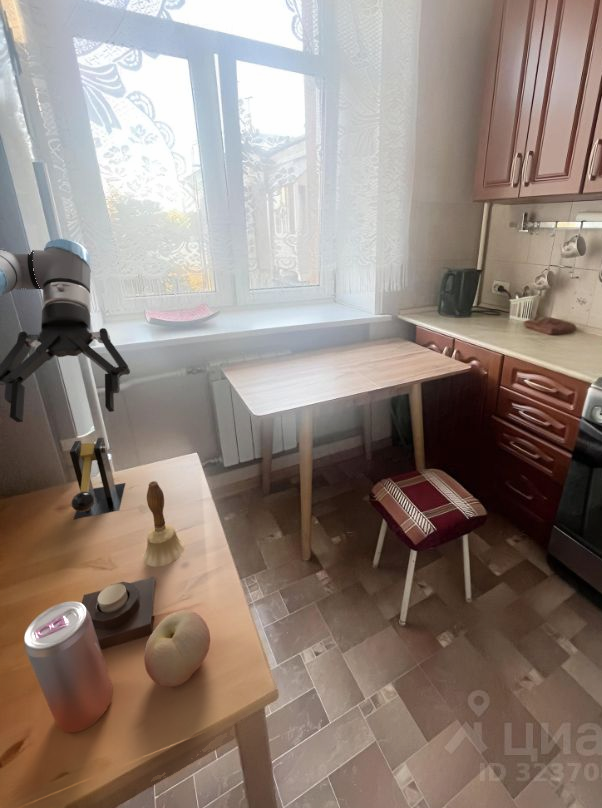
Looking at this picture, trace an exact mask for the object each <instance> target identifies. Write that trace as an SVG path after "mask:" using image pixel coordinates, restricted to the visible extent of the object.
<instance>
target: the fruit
mask: <svg viewBox="0 0 602 808" xmlns="http://www.w3.org/2000/svg"><path fill="white" fill-rule="evenodd" d="M210 644H211V633H210V630H209V627H208V624H207V622H206V621H205V619H203V617H202V616H201V615H200V614H198V613H197V612H195V611H193V610H185V609H182V610H178V611H173V612H172V613H170V614H168V615H167V616H166V617H164V618H163V619H162V620H161V621H160V622H159V623H158V625H157V626H155V629H153V633H152V634H151V635H149V638H148V639H147V641H146V645H145V648H144V655H143V661H144V667H145V671H146V672H147V675H148V677H149V678H150V679H151V680H152V681H153V682H154V683H156V684H157V685H159V686H162V687H170V688H172V687H178V686H180V685H183V684H184V683H186V682H187V681H188V680H189V679H190V678H191V676H192V675H194V673H195V672H196V671H197V670H198V668H199V667H201V665H202V664H203V662H204V660H205V659H206V657H207V655H208V653H209V650H210Z"/></svg>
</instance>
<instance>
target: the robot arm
mask: <svg viewBox="0 0 602 808" xmlns="http://www.w3.org/2000/svg"><path fill="white" fill-rule="evenodd" d="M31 250H32V252H31V254H30V255H29V254H16V253H15V254H14V253H10V252H7V251H3V250H0V297H2V296H3V295H5V294H8V293H9V292H12V291H14V289H16V290H35V289H42V290H41V291H42V304H41V305H42V309H41V324H40V328H41V329H40V332H39V333H38V334H28V333H27V332H26V331H20V332H19V333H18V335H17V340H16V343H15V344H14V346H12V348H11V350H10V351H9V352H8V353H7V355H6V356H5V357H4V359H3V360H2V361H1V363H0V386H4V385H5V387H4V400H5V401H6V402H7V403H8V404H10V408H9V409H10V410H9V418H10V419H12V420H13V421H14V422H16V423H23V422H24V408H25V407H24V406H25V392H26V391H25V389H26V387H25V385H23V383H24V382H25V381H26V380H27V379H28V378H29V377H30V376H32V375H33V374H34V373H35V372H36V371H37V370H38V369H39V368H40V367H42V366H43V365H44V364H45V363H46V362H48V361H50V360H52V359H53V358H54V357H58V358H63V357H68V356H69V357H78V355H81V354H83V355H84V356H85V357H86V358H88V359H90V360H91V361H92V362H93V363H94V364H96V365H97V366H98V367H99V368H101V369H102V370H103V371H104V372H106V373H104V403H105V404H104V406H105V408H106V409H107V411H108V412H109V413H112V412H115V399H114V394H119V393H120V390H121V385H120V384H121V383H120V382H121V381H120V378H121V377H122V376H125V375H127V376H128V375H130V374H131V369H130V368H129V365H128V364H127V362H126V361H125V360H124V358H123V356H122V355H121V354H120V352H119V351H118V350H117V349H116V347H115V346H114V344H113V342H112V341H111V336H110V334H109V332H108V330H107V329H106V328H105V327H102V328H100V329H99V331H92V332H91V273H92V269H91V263H90V253H89V252H88V250H87V249H86V248H85V247H84V246H83V245H81V244H80V243H79V242H77V241H74V240H73V239H72V240H71V239H68V238H56V239H53V240H49V241H47V242H46V244H45V246H44V247H43V250H41V249H31ZM33 252H34V253H33ZM32 260H33V261H32ZM33 268H34V271H33ZM34 274H35V275H34ZM35 278H36V279H35ZM36 281H37V282H36ZM37 283H38V284H37ZM38 285H39V286H38ZM39 287H40V288H39ZM21 288H22V289H21ZM23 288H24V289H23ZM25 288H26V289H25ZM94 340H96V341H97V342H98V343H99V344H102V345H103V346H104V347H105V349H106V351H107V352H108V353H109V355H110V356H111V358H112V359H113V361H114V362H115V363H116V365H117V367H116V366H114V365H113V364H112V363H110V362H109V361H108V360H106V358H104V357H103V355H100V353H98V352H97V351H95V350H94V349H93V347H91V346H90V344H92V342H93V341H94ZM37 343H40V344H38V346H37V347H36V348H35V351H33V352H32V354H30V355H29V356H28V354H29V353H30V351H31V350H32V348H34V347H35V345H36V344H37ZM27 356H28V357H27ZM25 358H26V359H25Z"/></svg>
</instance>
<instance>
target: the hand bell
mask: <svg viewBox="0 0 602 808" xmlns="http://www.w3.org/2000/svg"><path fill="white" fill-rule="evenodd" d="M147 487H148V488H147V492H146V503H147V506H148V509H149V510H150V512H151V513H152V516H153V526H154V528H152V529H151V530H150V531H149V532H148V533H147V536H146V537H147V538H146V539H147V542H146V549H145V550H144V552H143V554H142V561H143V563H145V564H146V565H147V566H149V567H162V566H166V565H169V564H171V563H172V562H174V561H176V560H177V559H178V558H179V557H180V556H181V555H182V554H183V552H184V551H185V542H184V540H182V539H181V538H179V537H178V534H177V532H176V529H175V527H174V526H172V525H170V524H166V521H165V516H164V508H165V496H164V491H163V490H162V488H161V487H160V485H159V483H158V481H156V480H152V481H150V482H149V483H148V486H147Z"/></svg>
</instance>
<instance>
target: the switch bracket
mask: <svg viewBox="0 0 602 808" xmlns="http://www.w3.org/2000/svg"><path fill="white" fill-rule="evenodd" d="M82 444H83V443H82V440H76V441H74V442H73V444H72V446H71V448H70V451H69V455H70V459H71V462H72V466H73V470H74V473H75V478H76V480H77V481H76V482H77V484H78V488H79V491H81V482H82V474H83V466H84V462H83V460H82V458H81V456H80V453H81V445H82ZM107 447H108V446H106V443H105V438H104V437H97V439H96V442H95V447H94V452H95V456H96V460H95V461H96V464H97V468H98V471H99V477H100V480H101V483H102V486H100V487H95V488H94V485H93V483H92V478H91V477H90V485H89V492H90V493H92V494H93V495H94V497H95V504H94V505H93V507H92V508H91V509H89V510H87V511H84V512H79V511H76V510H75V514H74V516H73V520H78V519H84V518H88V517H94V516H99V515H104V514H109V513H113V512H119V511H120V509H121V505H122V501H123V496H124V492H125V489H126V488H125V486H126V482H123V483H117V484H116V483H115V480H114V476H113V471H112V468H111V464H110V459H109V456H108V448H107Z"/></svg>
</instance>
